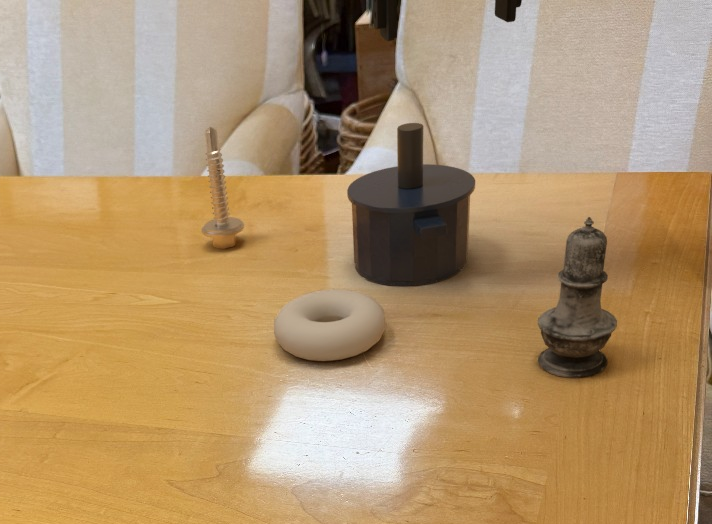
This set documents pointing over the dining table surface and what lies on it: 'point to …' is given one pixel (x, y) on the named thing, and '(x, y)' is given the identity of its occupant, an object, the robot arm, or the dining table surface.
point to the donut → (329, 324)
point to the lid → (411, 180)
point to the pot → (411, 244)
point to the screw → (219, 198)
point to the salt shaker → (578, 310)
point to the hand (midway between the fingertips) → (446, 28)
